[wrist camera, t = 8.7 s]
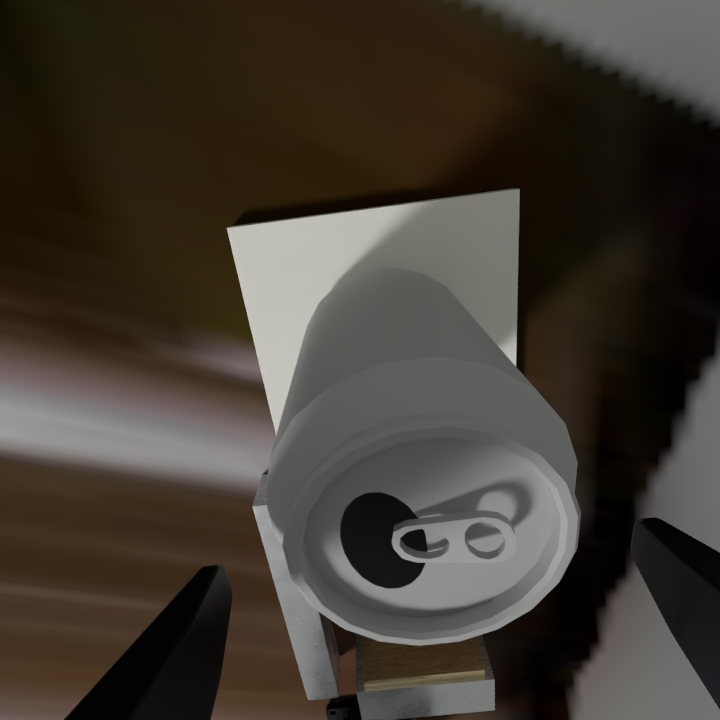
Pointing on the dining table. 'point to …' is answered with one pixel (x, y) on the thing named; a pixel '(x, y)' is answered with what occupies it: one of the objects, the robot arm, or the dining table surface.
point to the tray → (376, 251)
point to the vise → (377, 655)
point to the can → (417, 469)
